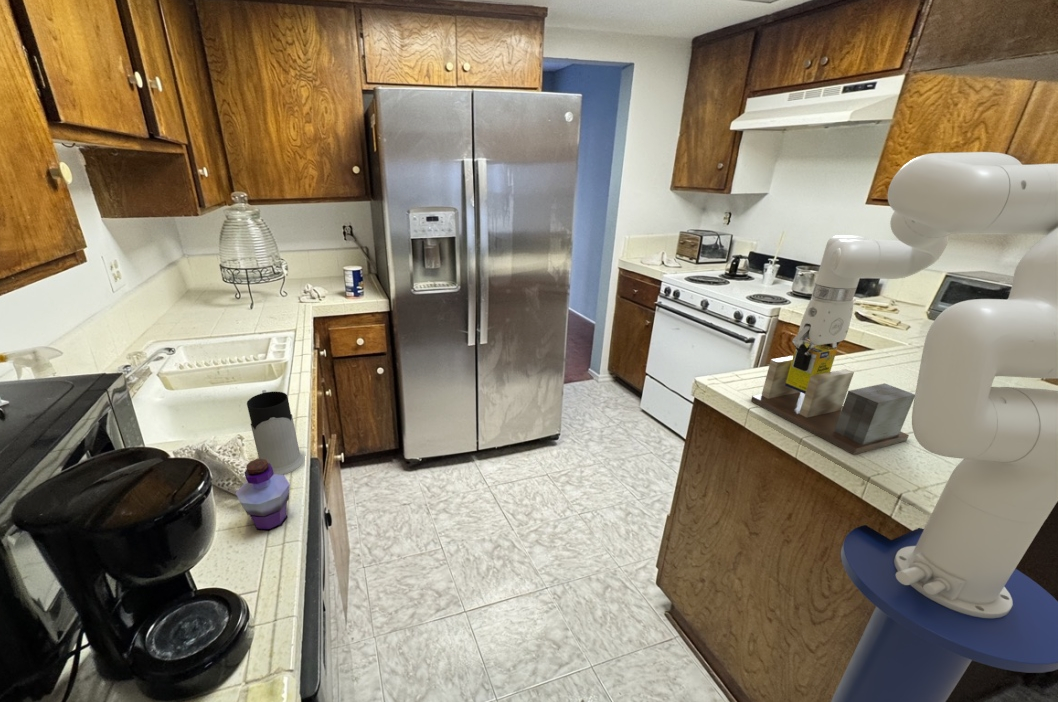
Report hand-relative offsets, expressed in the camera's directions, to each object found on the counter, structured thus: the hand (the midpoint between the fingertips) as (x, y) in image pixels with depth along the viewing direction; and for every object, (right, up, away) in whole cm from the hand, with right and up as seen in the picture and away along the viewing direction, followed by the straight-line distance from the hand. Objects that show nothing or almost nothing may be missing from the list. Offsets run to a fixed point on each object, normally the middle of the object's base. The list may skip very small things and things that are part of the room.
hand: (810, 366), depth 112 cm
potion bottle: (-117, -28, -30) cm, 124 cm away
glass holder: (-123, -20, -12) cm, 125 cm away
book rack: (+2, -13, -1) cm, 13 cm away
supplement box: (0, -6, +3) cm, 6 cm away
